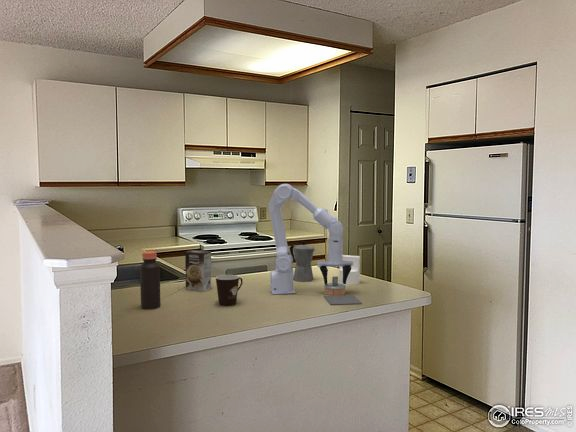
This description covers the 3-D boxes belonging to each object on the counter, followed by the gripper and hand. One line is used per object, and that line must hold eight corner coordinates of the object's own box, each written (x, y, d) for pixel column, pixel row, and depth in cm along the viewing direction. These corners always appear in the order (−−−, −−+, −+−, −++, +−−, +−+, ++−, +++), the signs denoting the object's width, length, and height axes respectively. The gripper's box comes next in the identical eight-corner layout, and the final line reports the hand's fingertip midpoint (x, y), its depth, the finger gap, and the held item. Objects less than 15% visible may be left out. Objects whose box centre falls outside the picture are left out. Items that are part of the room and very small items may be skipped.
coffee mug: (220, 308, 164) (220, 280, 164) (212, 302, 172) (212, 276, 171) (250, 304, 170) (250, 277, 169) (241, 298, 177) (241, 273, 176)
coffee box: (184, 289, 190) (184, 251, 189) (193, 286, 196) (193, 249, 195) (203, 292, 187) (203, 253, 186) (212, 288, 193) (211, 250, 191)
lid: (327, 289, 181) (327, 279, 181) (322, 284, 189) (322, 275, 189) (347, 289, 182) (348, 279, 182) (342, 284, 191) (342, 274, 190)
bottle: (138, 306, 166) (136, 251, 164) (156, 303, 170) (155, 250, 169) (144, 310, 161) (143, 254, 159) (163, 307, 165) (162, 252, 163)
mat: (330, 305, 168) (330, 304, 168) (323, 296, 180) (323, 295, 180) (362, 304, 170) (362, 303, 170) (352, 295, 182) (352, 294, 182)
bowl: (328, 295, 182) (328, 289, 182) (323, 291, 189) (323, 285, 189) (346, 295, 183) (346, 288, 183) (341, 290, 190) (341, 284, 190)
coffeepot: (321, 280, 208) (321, 241, 206) (306, 283, 202) (307, 243, 200) (296, 275, 219) (297, 237, 217) (282, 278, 213) (282, 239, 211)
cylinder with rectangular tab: (336, 283, 202) (337, 257, 201) (342, 279, 210) (342, 253, 209) (356, 285, 199) (357, 258, 198) (361, 281, 207) (362, 255, 206)
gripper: (320, 252, 179) (319, 287, 181) (355, 252, 182) (355, 285, 183) (316, 250, 186) (315, 282, 188) (350, 249, 189) (350, 281, 190)
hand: (335, 284), depth 186 cm, fingers open, 7 cm apart
